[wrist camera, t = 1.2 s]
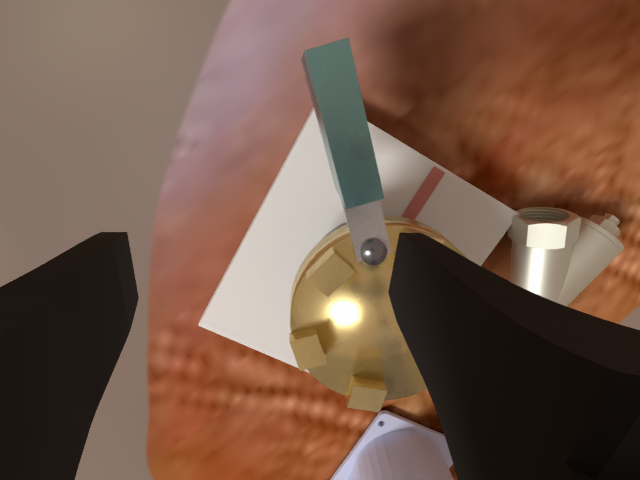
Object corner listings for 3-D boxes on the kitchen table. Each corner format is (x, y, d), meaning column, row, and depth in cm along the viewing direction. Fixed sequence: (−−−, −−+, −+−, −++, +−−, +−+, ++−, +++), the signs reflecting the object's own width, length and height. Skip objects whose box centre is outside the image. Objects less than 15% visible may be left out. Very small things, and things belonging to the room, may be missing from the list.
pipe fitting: (594, 196, 27) (499, 209, 26) (648, 212, 23) (539, 227, 23) (579, 303, 30) (493, 317, 29) (624, 331, 26) (527, 349, 25)
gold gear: (479, 350, 24) (516, 401, 20) (317, 395, 24) (323, 453, 21) (426, 23, 18) (465, 3, 14) (211, 86, 18) (189, 84, 14)
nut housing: (377, 391, 30) (390, 436, 26) (201, 315, 27) (187, 353, 23) (509, 208, 26) (548, 228, 22) (320, 93, 23) (327, 93, 19)
